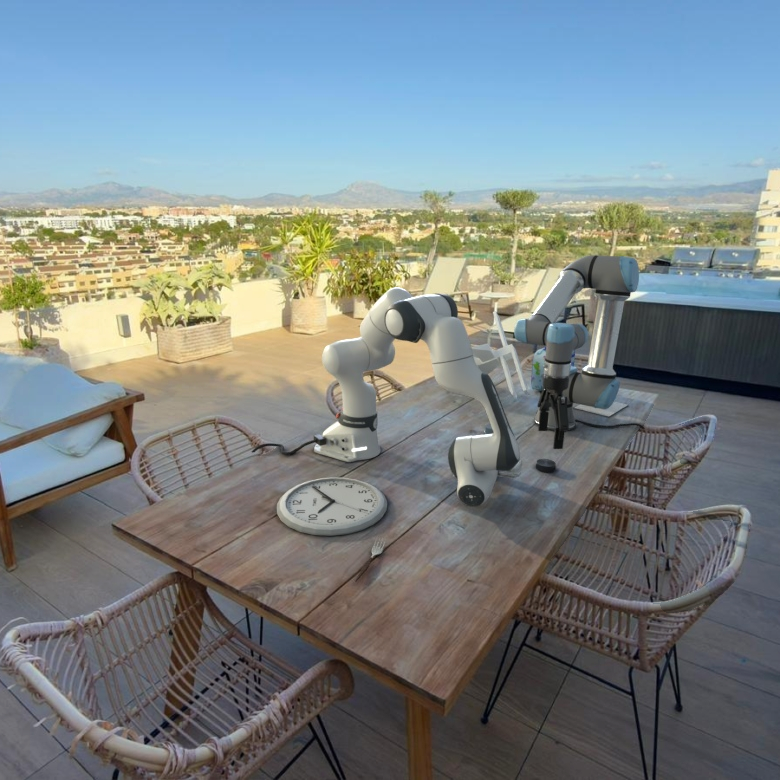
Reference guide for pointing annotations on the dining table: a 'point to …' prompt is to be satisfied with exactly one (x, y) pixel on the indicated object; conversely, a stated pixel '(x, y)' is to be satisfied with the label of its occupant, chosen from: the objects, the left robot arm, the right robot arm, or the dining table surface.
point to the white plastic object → (499, 359)
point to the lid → (545, 465)
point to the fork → (375, 551)
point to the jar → (488, 429)
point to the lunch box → (541, 368)
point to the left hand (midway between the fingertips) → (490, 452)
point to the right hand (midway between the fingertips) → (549, 439)
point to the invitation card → (606, 412)
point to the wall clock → (331, 506)
